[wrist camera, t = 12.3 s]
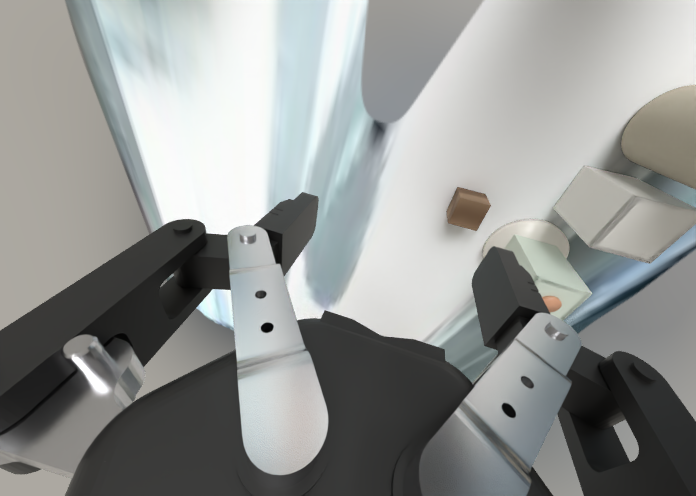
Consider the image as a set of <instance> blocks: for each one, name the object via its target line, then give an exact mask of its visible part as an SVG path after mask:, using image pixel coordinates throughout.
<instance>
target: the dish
mask: <svg viewBox="0 0 696 496" xmlns="http://www.w3.org/2000/svg"><path fill="white" fill-rule="evenodd" d="M514 234H516V235H519V236H523V237H526V238H530V239H534V240H537V241H541V242H544V243H548V244H551V245H555V246H557V247H558V248H559V250H560V251H561V252H562V254H563V255H564V256H565V258H566V259H567V257H568V254H569V242H568V239H567V237H566V236H565V235H564V233H563V232H562V231H561V230H560V229H559V228H558V227H557V226H555V225H554V224H552V223H550V222H547V221H544V220H539V219H523V220H517V221H514V222H510V223H508V224H506V225H504V226H502V227H500V228H499V229H497V230H496V231H495V232H493V233H492V234H491V235H490V236H489V238H488V239H487V240H486V242H485V244H484V247H483V259H484V257H485V256H486V254H487V253H488V251H489V250H490V248H492V247H493V246H495V247H499V248H503V249H504V248H505V247H506V246H507V244H508V243H509V241H510V240H511V238H512V237H513V235H514Z"/></svg>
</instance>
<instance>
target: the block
mask: <svg viewBox="0 0 696 496" xmlns="http://www.w3.org/2000/svg"><path fill="white" fill-rule="evenodd" d="M490 206H491V205H490V203H489V201H488V199H487V197H486V194H482V193H478V192H475V191H471V190H467V189H463V188H459V187H457V189H456V191H455V194H454V196H453V198H452V200H451V202H450V205H449V207H448V209H447V218H448V223H449V224H453V225H457V226H460V227H464V228H468V229H471V230H475V231H477V229H478V228H479V226H480V224H481V222H482V220H483V219H484V217H485V215H486V213H487V212H488V210H489V208H490Z"/></svg>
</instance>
